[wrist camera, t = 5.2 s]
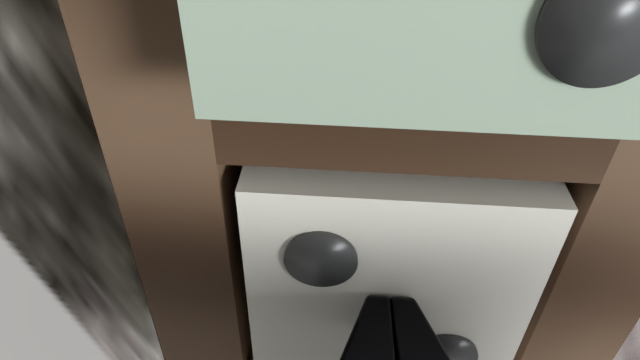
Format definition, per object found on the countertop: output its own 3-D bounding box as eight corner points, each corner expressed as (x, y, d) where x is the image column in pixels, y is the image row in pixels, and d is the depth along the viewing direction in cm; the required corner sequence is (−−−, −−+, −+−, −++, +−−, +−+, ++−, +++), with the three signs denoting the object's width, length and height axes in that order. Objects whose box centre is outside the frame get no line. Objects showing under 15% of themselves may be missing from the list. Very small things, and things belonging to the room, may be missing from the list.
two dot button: (476, 297, 12) (499, 398, 10) (271, 284, 13) (254, 382, 11) (532, 120, 9) (581, 215, 7) (261, 107, 10) (234, 195, 7)
